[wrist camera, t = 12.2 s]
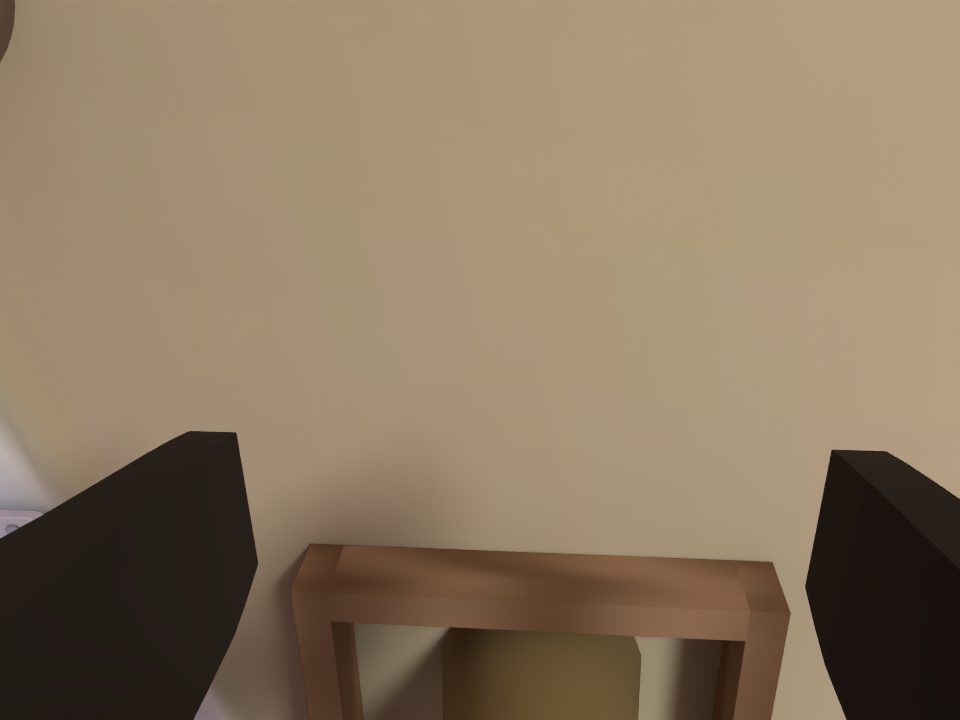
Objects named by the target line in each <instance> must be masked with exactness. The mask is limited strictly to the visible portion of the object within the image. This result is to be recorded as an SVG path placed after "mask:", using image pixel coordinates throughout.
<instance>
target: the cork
mask: <svg viewBox="0 0 960 720" xmlns="http://www.w3.org/2000/svg"><path fill="white" fill-rule="evenodd" d="M640 670H641V654H640V651H639V649H638V646H637V643H636V640H635V638H634V636H625V635H604V634H582V633H561V632H540V631H519V630H498V629H477V628H456V627H451V628H450V630H449V633H448V636H447V639H446V642H445V644H444V647H443V720H638V708H639V689H640Z"/></svg>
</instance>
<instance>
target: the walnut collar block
mask: <svg viewBox="0 0 960 720" xmlns="http://www.w3.org/2000/svg"><path fill="white" fill-rule="evenodd" d="M290 592H291V598H292V605H293V612H294V618H295V625H296V632H297V639H298V645H299V652H300V659H301V665H302V672H303V679H304V685H305V692H306V699H307V705H308V712H309V719H310V720H364V718H363V709H362V700H361V691H360V682H359V673H358V664H357V655H356V646H355V636H354V627H353V623H371V624H392V625H413V626H434V627H456V628H477V629H498V630H519V631H540V632H561V633H582V634H604V635H625V636H646V637H667V638H688V639H709V640H724V643H723V650H722V657H721V664H720V671H719V678H718V685H717V692H716V699H715V706H714V713H713V720H771V716H772V711H773V705H774V700H775V695H776V689H777V684H778V679H779V673H780V668H781V662H782V657H783V652H784V646H785V641H786V636H787V630H788V625H789V619H790V614H791V613H790V610H789V607H788V605H787V602H786V599H785V596H784V593H783V591H782V588H781V585H780V582H779V579H778V576H777V574H776V571H775V568H774V565H773V562H756V561H731V560H705V559H680V558H654V557H629V556H604V555H578V554H553V553H527V552H502V551H477V550H451V549H426V548H400V547H375V546H350V545H324V544H310V546H309V548H308V551H307V553H306V556H305V558H304V560H303V563H302V565H301V567H300V570H299V572H298V574H297V577H296V579H295V582H294V584H293V586H292V589H291V591H290Z"/></svg>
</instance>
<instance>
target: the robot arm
mask: <svg viewBox="0 0 960 720" xmlns="http://www.w3.org/2000/svg"><path fill="white" fill-rule="evenodd" d="M15 525H17V526H18V527H20V528H17V527H16V526H15ZM257 566H258V560H257V554H256V548H255V542H254V536H253V530H252V524H251V518H250V512H249V506H248V500H247V494H246V488H245V482H244V476H243V470H242V464H241V458H240V452H239V446H238V440H237V434H236V432H201V431H189V432H186V433H184V434H182V435H180V436H178V437H176V438H174V439H172V440H170V441H168V442H166V443H164V444H163V445H161V446H159V447H157V448H155V449H154V450H152V451H150V452H148V453H147V454H145V455H143V456H142V457H140V458H138V459H136V460H135V461H133V462H131V463H130V464H128V465H126V466H125V467H123V468H121V469H120V470H118V471H116V472H115V473H113V474H111V475H110V476H108V477H106V478H105V479H103V480H101V481H99V482H98V483H96V484H94V485H93V486H91V487H89V488H88V489H86V490H84V491H83V492H81V493H79V494H78V495H76V496H74V497H72V498H71V499H69V500H67V501H66V502H64V503H62V504H61V505H59V506H57V507H56V508H54V509H52V510H50V511H49V512H47V513H45V514H43V513H41V512H37V511H24V510H0V720H193V719H194V717H195V715H196V713H197V711H198V709H199V707H200V705H201V703H202V701H203V699H204V697H205V695H206V693H207V691H208V689H209V687H210V685H211V683H212V681H213V679H214V677H215V675H216V673H217V671H218V669H219V667H220V664H221V662H222V660H223V658H224V656H225V654H226V652H227V650H228V648H229V646H230V644H231V641H232V639H233V637H234V635H235V632H236V629H237V627H238V624H239V621H240V618H241V615H242V612H243V609H244V607H245V604H246V601H247V598H248V594H249V591H250V588H251V585H252V582H253V579H254V575H255V572H256V569H257ZM805 588H806V592H807V596H808V601H809V605H810V609H811V613H812V617H813V621H814V626H815V630H816V633H817V637H818V641H819V645H820V648H821V652H822V656H823V659H824V663H825V666H826V669H827V671H828V674H829V676H830V679H831V682H832V684H833V687H834V689H835V692H836V694H837V697H838V699H839V702H840V704H841V707H842V709H843V712H844V714H845V717H846V719H847V720H960V499H959V498H957V497H956V496H954V495H953V494H952V493H950V492H949V491H947V490H946V489H944V488H943V487H941V486H940V485H938V484H937V483H935V482H934V481H932V480H931V479H930V478H928V477H927V476H925V475H924V474H922V473H921V472H919V471H918V470H916V469H914V468H913V467H911V466H910V465H908V464H907V463H905V462H903V461H902V460H900V459H898V458H897V457H895V456H893V455H891V454H890V453H888V452H886V451H857V450H832V451H831V456H830V462H829V467H828V472H827V477H826V482H825V487H824V493H823V498H822V503H821V508H820V513H819V518H818V524H817V529H816V534H815V539H814V544H813V549H812V555H811V560H810V565H809V570H808V575H807V580H806V585H805Z"/></svg>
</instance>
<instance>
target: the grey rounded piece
mask: <svg viewBox="0 0 960 720" xmlns="http://www.w3.org/2000/svg"><path fill="white" fill-rule="evenodd" d="M14 14H15V1H14V0H0V61H1V60H2V58H3V56H4V54H5V52H6V50H7V47H8V45H9V42H10V39H11V35H12V30H13V25H14Z"/></svg>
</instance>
